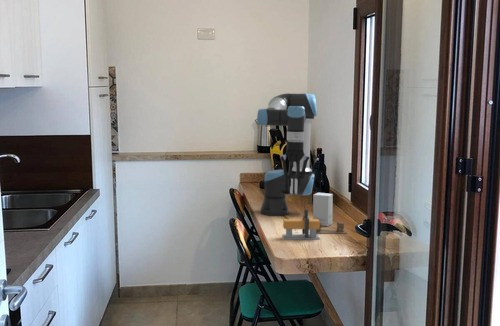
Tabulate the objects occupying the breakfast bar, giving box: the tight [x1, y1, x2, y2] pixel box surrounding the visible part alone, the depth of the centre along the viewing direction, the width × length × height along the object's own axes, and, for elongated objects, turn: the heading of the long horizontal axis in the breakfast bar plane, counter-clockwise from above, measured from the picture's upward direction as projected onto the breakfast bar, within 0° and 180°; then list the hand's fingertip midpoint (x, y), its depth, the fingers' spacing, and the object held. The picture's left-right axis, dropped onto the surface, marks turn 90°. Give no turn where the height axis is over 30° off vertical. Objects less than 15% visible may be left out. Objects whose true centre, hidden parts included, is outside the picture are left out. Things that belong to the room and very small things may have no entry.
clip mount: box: [282, 229, 321, 241], centre depth 234 cm, size 6×16×4 cm, turn 94°
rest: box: [316, 221, 348, 235], centre depth 244 cm, size 6×16×4 cm, turn 94°
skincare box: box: [312, 192, 334, 227], centre depth 257 cm, size 8×7×16 cm
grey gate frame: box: [301, 208, 310, 238], centre depth 233 cm, size 7×2×12 cm, turn 5°
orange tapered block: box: [282, 218, 320, 230], centre depth 233 cm, size 4×16×4 cm, turn 95°
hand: (293, 193), depth 231 cm, fingers closed
